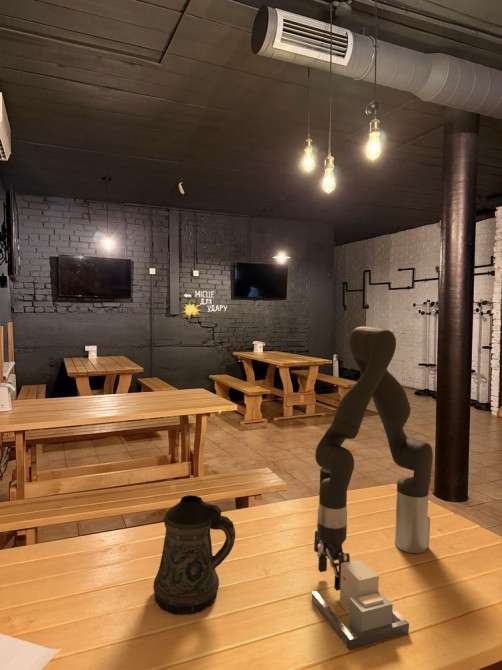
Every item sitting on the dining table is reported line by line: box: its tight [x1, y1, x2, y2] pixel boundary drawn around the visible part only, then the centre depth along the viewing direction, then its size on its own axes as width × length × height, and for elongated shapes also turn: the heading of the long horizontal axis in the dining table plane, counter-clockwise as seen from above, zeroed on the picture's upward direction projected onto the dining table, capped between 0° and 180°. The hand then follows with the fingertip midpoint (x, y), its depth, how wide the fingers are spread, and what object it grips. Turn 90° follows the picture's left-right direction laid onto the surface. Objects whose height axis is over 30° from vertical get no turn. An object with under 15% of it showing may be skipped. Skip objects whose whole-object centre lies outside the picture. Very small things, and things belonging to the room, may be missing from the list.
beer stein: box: [152, 495, 236, 616], centre depth 116 cm, size 16×19×25 cm
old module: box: [348, 590, 394, 634], centre depth 104 cm, size 8×5×8 cm, turn 110°
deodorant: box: [319, 467, 331, 484], centre depth 165 cm, size 6×6×15 cm
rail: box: [311, 590, 410, 652], centre depth 108 cm, size 15×17×2 cm
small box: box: [339, 559, 380, 614], centre depth 110 cm, size 8×6×10 cm
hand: (330, 579), depth 120 cm, fingers open, 8 cm apart
